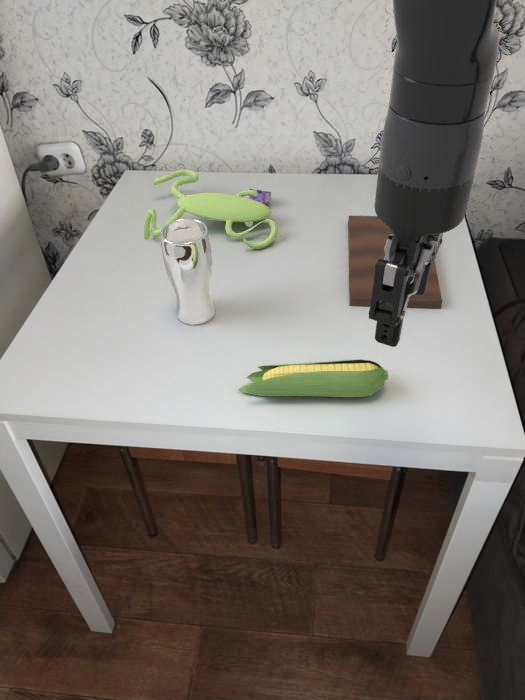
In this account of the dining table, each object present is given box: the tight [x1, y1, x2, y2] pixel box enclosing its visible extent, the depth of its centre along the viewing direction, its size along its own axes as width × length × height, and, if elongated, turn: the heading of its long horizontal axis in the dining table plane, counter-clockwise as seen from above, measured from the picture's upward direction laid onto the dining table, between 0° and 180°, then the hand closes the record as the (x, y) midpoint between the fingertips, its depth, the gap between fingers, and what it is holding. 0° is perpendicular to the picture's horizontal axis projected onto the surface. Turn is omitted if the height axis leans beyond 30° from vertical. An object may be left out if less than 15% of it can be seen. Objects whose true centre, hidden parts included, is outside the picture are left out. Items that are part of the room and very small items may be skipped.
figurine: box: [143, 169, 278, 250], centre depth 110 cm, size 18×27×6 cm
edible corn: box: [237, 359, 389, 399], centre depth 78 cm, size 5×20×5 cm, turn 90°
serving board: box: [347, 215, 443, 310], centre depth 100 cm, size 24×14×2 cm, turn 174°
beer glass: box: [160, 217, 216, 326], centre depth 87 cm, size 7×7×15 cm
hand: (401, 315), depth 58 cm, fingers open, 8 cm apart
